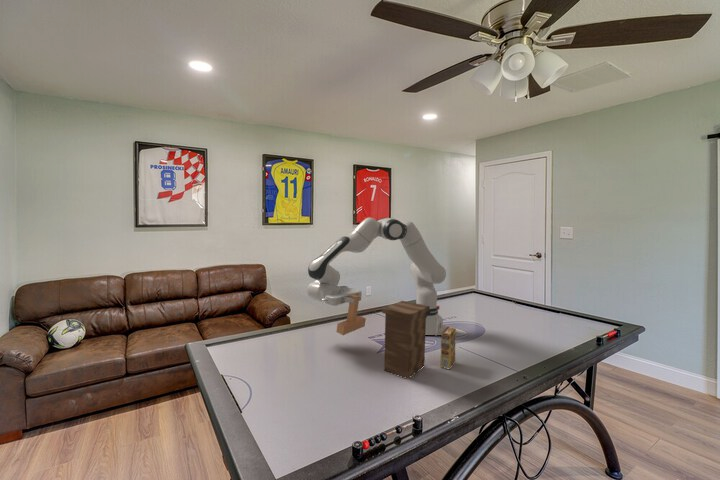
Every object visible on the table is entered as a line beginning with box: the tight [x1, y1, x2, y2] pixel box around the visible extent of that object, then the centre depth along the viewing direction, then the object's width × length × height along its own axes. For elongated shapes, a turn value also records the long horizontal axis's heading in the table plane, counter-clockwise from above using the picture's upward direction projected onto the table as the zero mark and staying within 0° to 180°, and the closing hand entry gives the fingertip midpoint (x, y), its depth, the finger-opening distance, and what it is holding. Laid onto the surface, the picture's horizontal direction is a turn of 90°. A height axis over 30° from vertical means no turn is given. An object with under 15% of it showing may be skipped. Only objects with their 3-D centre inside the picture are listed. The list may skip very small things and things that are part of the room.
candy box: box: [440, 326, 457, 369], centre depth 143 cm, size 9×4×15 cm, turn 150°
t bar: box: [336, 294, 367, 336], centre depth 154 cm, size 16×16×4 cm
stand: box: [381, 300, 429, 379], centre depth 138 cm, size 16×13×26 cm
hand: (357, 299), depth 152 cm, fingers closed on t bar, 3 cm apart
